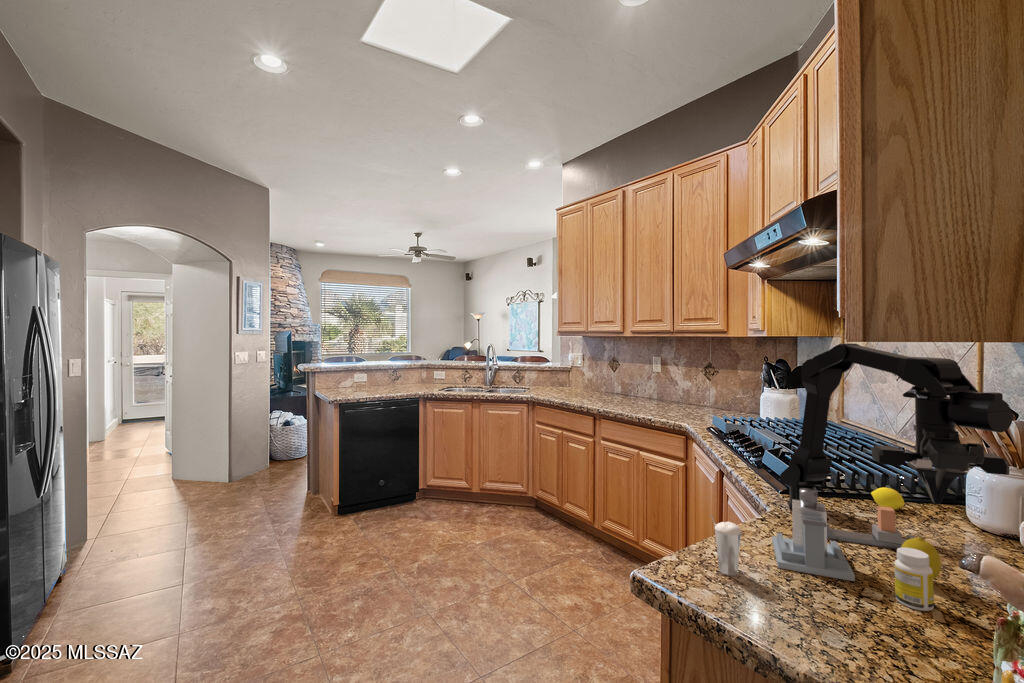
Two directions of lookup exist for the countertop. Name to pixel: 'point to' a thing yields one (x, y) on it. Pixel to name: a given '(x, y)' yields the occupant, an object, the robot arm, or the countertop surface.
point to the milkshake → (727, 547)
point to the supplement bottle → (913, 579)
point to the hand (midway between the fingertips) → (936, 503)
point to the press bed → (808, 570)
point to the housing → (809, 508)
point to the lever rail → (861, 538)
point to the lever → (886, 526)
